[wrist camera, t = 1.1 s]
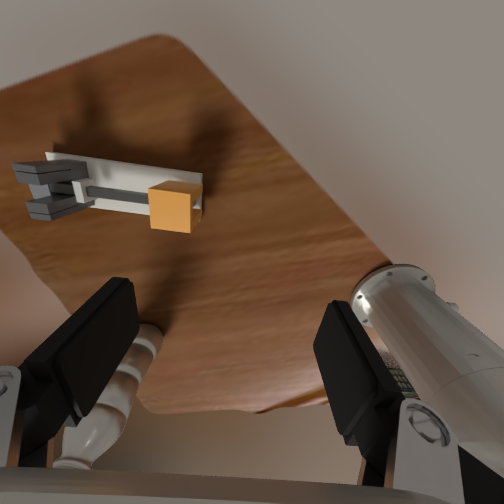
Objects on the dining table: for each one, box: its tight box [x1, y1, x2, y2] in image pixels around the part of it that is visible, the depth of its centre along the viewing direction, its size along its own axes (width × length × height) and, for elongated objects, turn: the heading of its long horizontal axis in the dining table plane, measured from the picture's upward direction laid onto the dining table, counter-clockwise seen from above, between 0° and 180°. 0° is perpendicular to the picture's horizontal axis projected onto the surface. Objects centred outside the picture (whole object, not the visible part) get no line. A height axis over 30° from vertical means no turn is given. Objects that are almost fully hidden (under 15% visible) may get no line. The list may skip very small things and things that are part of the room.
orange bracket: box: [148, 180, 203, 233], centre depth 23 cm, size 4×4×6 cm
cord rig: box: [12, 152, 203, 221], centre depth 24 cm, size 18×6×8 cm, turn 82°
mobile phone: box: [388, 368, 418, 398], centre depth 41 cm, size 5×3×15 cm
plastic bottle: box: [53, 323, 163, 470], centre depth 30 cm, size 6×7×20 cm
